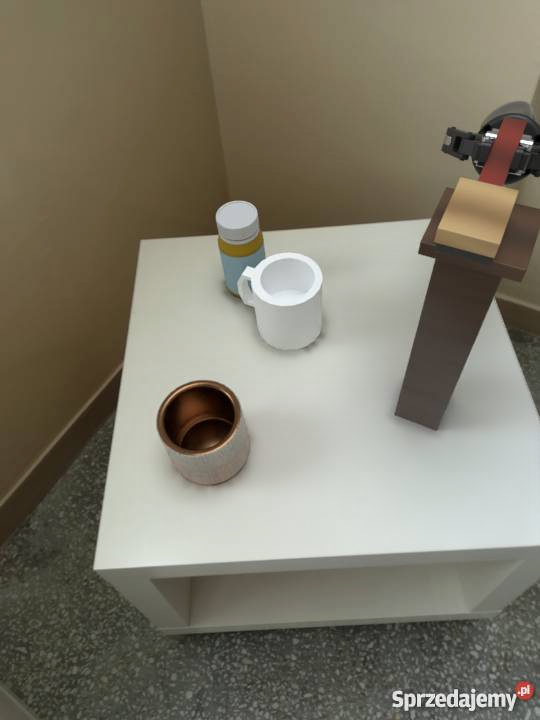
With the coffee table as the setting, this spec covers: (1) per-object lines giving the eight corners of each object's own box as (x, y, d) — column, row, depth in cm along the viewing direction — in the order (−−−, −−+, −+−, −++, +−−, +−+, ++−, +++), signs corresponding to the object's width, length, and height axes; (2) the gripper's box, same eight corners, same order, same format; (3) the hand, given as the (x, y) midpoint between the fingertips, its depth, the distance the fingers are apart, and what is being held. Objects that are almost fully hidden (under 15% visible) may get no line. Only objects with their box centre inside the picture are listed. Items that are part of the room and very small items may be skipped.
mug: (228, 330, 84) (217, 285, 75) (257, 286, 89) (250, 238, 80) (305, 359, 80) (304, 315, 71) (332, 310, 85) (333, 264, 76)
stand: (400, 372, 78) (446, 186, 50) (461, 394, 75) (545, 210, 48) (381, 416, 74) (420, 241, 46) (445, 441, 71) (526, 270, 44)
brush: (485, 130, 55) (493, 104, 52) (536, 140, 53) (546, 113, 51) (431, 252, 46) (437, 227, 43) (490, 268, 44) (500, 244, 42)
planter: (242, 406, 76) (234, 370, 68) (257, 476, 70) (250, 445, 62) (168, 423, 76) (151, 388, 68) (177, 495, 70) (159, 466, 62)
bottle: (230, 267, 92) (217, 197, 79) (270, 269, 91) (263, 199, 78) (223, 298, 88) (208, 230, 75) (264, 301, 87) (256, 232, 75)
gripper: (460, 101, 63) (437, 98, 49) (585, 125, 59) (601, 129, 44) (440, 167, 66) (414, 182, 52) (557, 193, 62) (563, 217, 48)
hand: (500, 157), depth 48 cm, fingers closed on brush, 2 cm apart
